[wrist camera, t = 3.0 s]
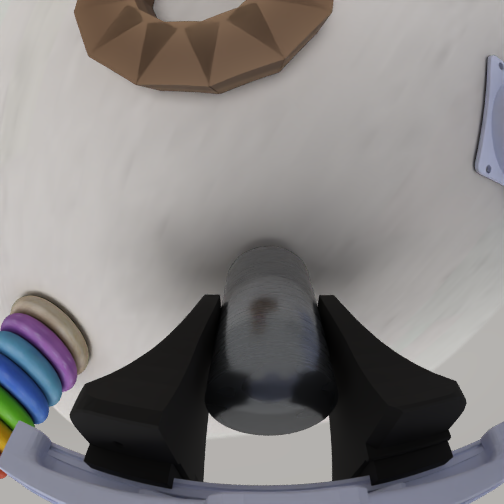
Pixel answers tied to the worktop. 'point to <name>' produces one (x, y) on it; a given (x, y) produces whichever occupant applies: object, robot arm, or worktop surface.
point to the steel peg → (270, 349)
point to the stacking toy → (36, 362)
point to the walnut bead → (198, 42)
